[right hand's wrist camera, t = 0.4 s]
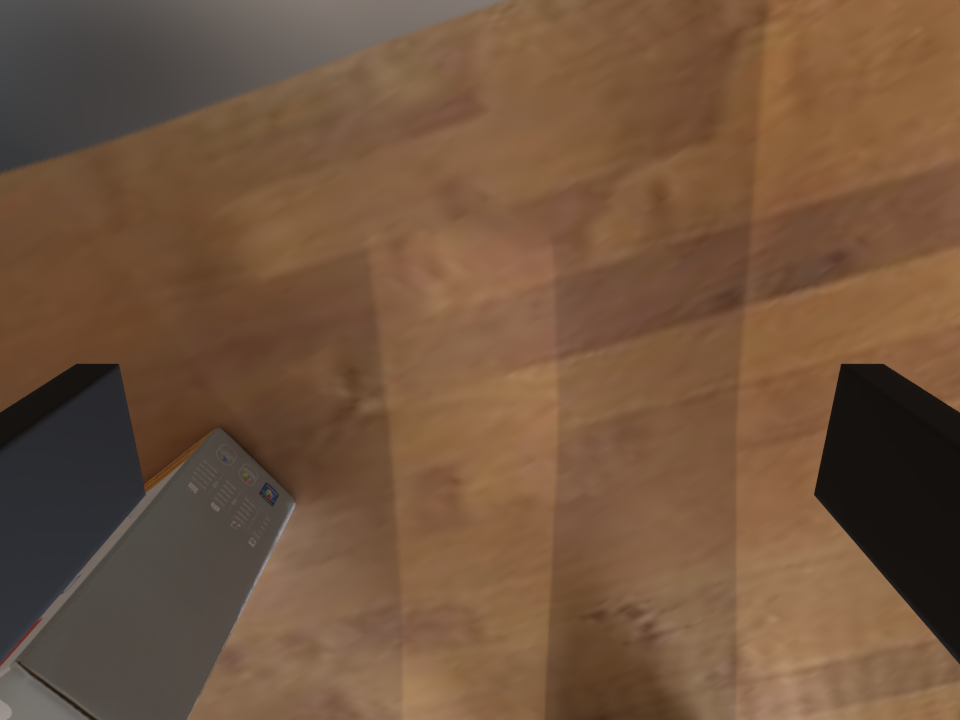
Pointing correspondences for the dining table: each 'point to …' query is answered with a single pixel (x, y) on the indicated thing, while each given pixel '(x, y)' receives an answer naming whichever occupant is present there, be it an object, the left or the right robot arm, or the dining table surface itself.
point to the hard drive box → (153, 596)
